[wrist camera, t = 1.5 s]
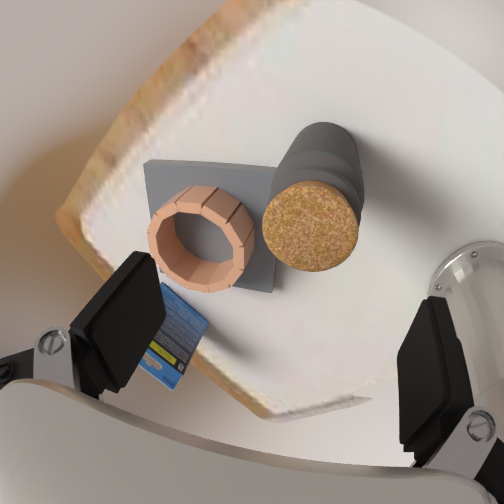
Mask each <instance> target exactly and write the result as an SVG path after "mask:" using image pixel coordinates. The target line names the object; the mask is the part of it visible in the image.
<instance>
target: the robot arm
mask: <svg viewBox="0 0 504 504" xmlns="http://www.w3.org/2000/svg"><path fill="white" fill-rule="evenodd" d="M165 318H166V309H165V304H164V300H163V296H162V291H161V287H160V282H159V277H158V273H157V268H156V263H155V259H154V258H152V257H151V255H150V254H149V253H145V252H139V251H134V252H133V253H132V254H131V255H130V256H129V257H128V258H127V259H126V260H125V261H124V262H123V263H122V265H121V266H120V267H119V268H118V269H117V270H116V271H115V272H114V274H113V275H112V276H111V277H110V278H109V279H108V280H107V281H106V283H105V284H104V285H103V286H102V287H101V288H100V290H99V291H98V292H97V293H96V294H95V295H94V296H93V298H92V299H91V300H90V301H89V302H88V304H87V305H86V306H85V307H84V308H83V310H82V311H81V312H80V313H79V314H78V316H77V317H76V318H75V319H74V321H73V322H72V323H71V324H70V327H71V328H70V330H69V331H67V330H66V329H64V328H62V327H51V328H49V329H46V330H45V331H43V332H42V333H41V334H40V335H39V336H38V337H37V339H36V341H35V345H34V348H32V349H29V350H26V351H23V352H20V353H17V354H14V355H10V356H7V357H4V358H2V359H0V504H504V245H503V244H501V243H497V242H493V241H482V242H477V243H473V244H470V245H468V246H465V247H463V248H461V249H460V250H458V251H456V252H455V253H454V254H452V255H451V256H450V257H449V258H447V259H446V260H445V261H444V263H443V264H442V265H441V266H440V267H439V269H438V270H437V272H436V273H435V275H434V276H433V279H432V281H431V283H430V287H429V291H428V298H427V300H426V299H424V300H423V301H422V303H421V305H420V307H419V309H418V312H417V314H416V316H415V318H414V320H413V323H412V325H411V327H410V329H409V331H408V333H407V335H406V337H405V339H404V341H403V343H402V345H401V347H400V349H399V351H398V355H397V369H398V387H399V422H400V423H399V426H400V427H399V428H400V429H399V432H400V433H399V434H400V435H399V439H400V443H401V444H404V452H414V459H415V461H414V462H413V464H411V466H410V467H384V466H366V465H352V464H341V463H340V464H339V463H330V462H321V461H313V460H306V459H299V458H293V457H287V456H280V455H275V454H270V453H264V452H260V451H255V450H250V449H246V448H241V447H237V446H232V445H228V444H225V443H221V442H217V441H213V440H209V439H205V438H202V437H199V436H195V435H192V434H189V433H186V432H182V431H179V430H176V429H173V428H170V427H167V426H164V425H161V424H158V423H155V422H153V421H150V420H147V419H144V418H141V417H139V416H136V415H133V414H131V413H129V412H126V411H124V410H121V409H119V408H116V407H114V406H111V405H109V404H107V403H104V400H103V395H102V392H103V391H104V389H107V390H110V391H112V392H114V393H118V392H119V390H120V388H123V387H125V386H126V384H127V383H128V381H129V379H130V378H131V376H132V374H133V372H134V371H135V369H136V367H137V366H138V364H139V362H140V361H141V359H142V357H143V356H144V354H145V352H146V350H147V349H148V347H149V345H150V344H151V342H152V340H153V339H154V337H155V336H156V334H157V332H158V331H159V329H160V327H161V326H162V324H163V322H164V321H165Z"/></svg>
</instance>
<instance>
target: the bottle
mask: <svg viewBox="0 0 504 504" xmlns="http://www.w3.org/2000/svg"><path fill="white" fill-rule="evenodd" d="M363 204H364V185H363V178H362V173H361V168H360V162H359V157H358V153H357V149H356V146H355V143H354V141H353V139H352V137H351V136H350V135H349V133H348V132H347V131H346V130H344V129H343V128H342V127H340V126H338V125H336V124H333V123H329V122H318V123H314V124H311V125H309V126H307V127H306V128H304V129H303V130H302V131H301V132H300V133H299V134H298V136H297V137H296V138H295V140H294V142H293V143H292V145H291V146H290V148H289V150H288V151H287V153H286V154H285V156H284V158H283V159H282V161H281V163H280V164H279V166H278V168H277V170H276V172H275V174H274V176H273V179H272V182H271V193H270V196H269V199H268V203H267V209H266V211H265V213H264V216H263V223H262V230H263V236H264V239H265V242H266V244H267V246H268V247H269V249H270V251H271V252H272V253H273V254H274V255H275V256H276V257H277V258H278V259H279V260H280V261H282V262H283V263H285V264H287V265H288V266H290V267H293V268H295V269H298V270H303V271H310V272H318V271H324V270H328V269H331V268H333V267H336V266H338V265H339V264H341V263H342V262H344V261H345V260H346V259H347V258H348V257H349V256H350V254H351V253H352V251H353V250H354V248H355V246H356V243H357V239H358V230H359V229H358V228H359V225H360V220H361V211H362V208H363Z"/></svg>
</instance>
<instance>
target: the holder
mask: <svg viewBox="0 0 504 504" xmlns="http://www.w3.org/2000/svg"><path fill="white" fill-rule="evenodd" d="M143 166H144V174H145V182H146V189H147V196H148V203H149V210H150V216H151V223H150V225H149V228H148V230H147V231H148V233H147V237H148V242H149V247H150V253H151V254H153V255H152V257H153V258H154V259H155V261H156V262H157V264H158V265H159V268H160V272H161V273H164V274H165V273H166V274H167V276H168V277H170V278H171V279H173V280H174V281H176V282H177V283H179V284H180V285H182V286H183V287H186V286H187V288H188V289H191V290H196V291H201V292H206V293H209V292H211V293H213V292H216V291H220V290H223V289H227V288H230V286H234V287H239V288H245V289H251V290H256V291H262V292H268V293H271V292H272V289H273V286H274V276H275V260H276V256H275V255H274V254H273V253H272V252H271V251H270V249H269V247H268V246H267V244H266V242H265V239H264V236H263V230H262V223H263V216H264V213H265V211H266V209H267V203H268V199H269V196H270V193H271V182H272V179H273V176H274V174H275V172H276V170H277V168H275V167H265V166H255V165H243V164H230V163H216V162H199V161H178V160H149V161H147V162H146V163H144V164H143Z"/></svg>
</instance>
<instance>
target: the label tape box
mask: <svg viewBox="0 0 504 504" xmlns="http://www.w3.org/2000/svg"><path fill="white" fill-rule="evenodd" d="M160 287H161V291H162V296H163V300H164V304H165V309H166V318H165V321H164V322H163V324H162V326H161V327H160V329H159V331H158V332H157V334H156V336H155V337H154V339H153V340H152V342H151V344H150V345H149V347H148V349H147V350H146V352H145V353H146V354H147V355H148V356H150V357H151V358H152V359H153V360H155V361H156V362H157V363H158V364H160V366H161V369H157V368H156V367H155V366H154V365H151V366H150V365H148V363H147V360H146V359H145V358H144V357H142V359H141V361H140V362H139V364H138V365H139V366H140V367H142V368H143V369H144V370H145V371H147V372H148V373H149V374H151V375H152V376H153V377H155V378H156V379H157V380H159V381H160V382H161V383H162V384H164V385H165V386H166V387H168V388H169V389H170V390H171V391H174V390H175V388H176V386H177V384H178V382H179V381H180V379H181V378H182V376H183V375H184V373H185V371H186V368H187V366H188V364H189V362H190V360H191V358H192V356H193V354H194V352H195V350H196V348H197V346H198V344H199V342H200V340H201V338H202V336H203V333H204V331H205V329H206V327H207V325H208V321H207V320H206V319H204V318H203V317H202V316H201V315H200V314H198V313H197V312H196V311H195V310H193V309H192V308H191V307H190V306H189V305H187V304H186V303H185V302H184V301H183V300H182V299H180V298H179V297H178V296H177V295H176V294H175V293H173V292H172V291H171V290H170V289H169V288H168V287H167V286H166V285H164V284H163V283H162V282H161V283H160Z"/></svg>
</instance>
